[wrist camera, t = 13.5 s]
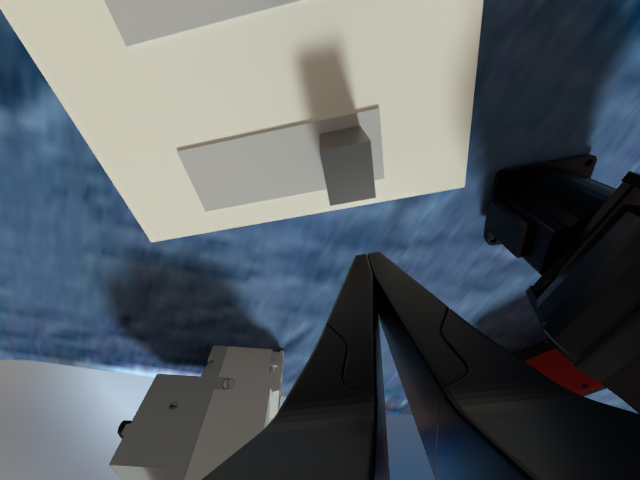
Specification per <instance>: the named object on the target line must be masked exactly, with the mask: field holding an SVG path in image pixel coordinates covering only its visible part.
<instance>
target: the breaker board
mask: <svg viewBox="0 0 640 480" xmlns="http://www.w3.org/2000/svg"><path fill="white" fill-rule="evenodd" d="M483 1H484V0H0V9H1V11H2V12H3V14H4V15H5V17H6V19H7V20H8V22H9V23H10V25H11V26H12V28H13V29H14V31H15V32H16V34H17V36H18V37H19V39H20V40H21V42H22V43H23V45H24V46H25V48H26V49H27V51H28V53H29V54H30V56H31V57H32V59H33V60H34V62H35V63H36V65H37V66H38V68H39V70H40V71H41V73H42V74H43V76H44V77H45V79H46V80H47V82H48V83H49V85H50V87H51V88H52V90H53V91H54V93H55V94H56V96H57V97H58V99H59V100H60V102H61V104H62V105H63V107H64V108H65V110H66V111H67V113H68V114H69V116H70V117H71V119H72V121H73V122H74V124H75V125H76V127H77V128H78V130H79V131H80V133H81V134H82V136H83V138H84V139H85V141H86V142H87V144H88V145H89V147H90V148H91V150H92V151H93V153H94V155H95V156H96V158H97V159H98V161H99V162H100V164H101V165H102V167H103V168H104V170H105V172H106V173H107V175H108V176H109V178H110V179H111V181H112V182H113V184H114V185H115V187H116V189H117V190H118V192H119V193H120V195H121V196H122V198H123V199H124V201H125V202H126V204H127V206H128V207H129V209H130V210H131V212H132V213H133V215H134V216H135V218H136V219H137V221H138V223H139V224H140V226H141V227H142V229H143V230H144V232H145V233H146V235H147V236H148V238H149V240H150V241H151V242H157V241H163V240H168V239H174V238H180V237H185V236H191V235H197V234H202V233H208V232H214V231H219V230H225V229H231V228H236V227H242V226H248V225H253V224H259V223H265V222H270V221H276V220H282V219H287V218H293V217H299V216H304V215H310V214H316V213H321V212H327V211H333V210H338V209H344V208H350V207H355V206H361V205H367V204H372V203H378V202H384V201H389V200H395V199H401V198H406V197H412V196H418V195H423V194H429V193H435V192H440V191H446V190H452V189H457V188H463V187H465V179H466V169H467V159H468V149H469V139H470V129H471V120H472V110H473V100H474V90H475V80H476V70H477V60H478V50H479V40H480V31H481V21H482V11H483ZM356 126H361V127H362V129H363V130H364V132H365V133H366V135H367V136H368V138H369V139H370V140H371V150H372V161H373V172H374V183H375V194H376V198H371V199H366V200H360V201H355V202H349V203H343V204H338V205H332V206H330V203H329V197H328V192H327V187H326V182H325V177H324V172H323V167H322V162H321V156H320V151H319V147H320V134H322V133H327V132H332V131H337V130H341V129H346V128H351V127H356Z"/></svg>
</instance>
